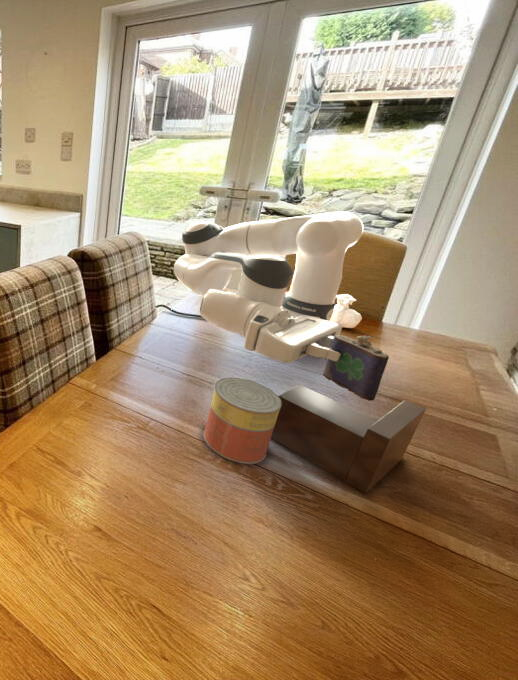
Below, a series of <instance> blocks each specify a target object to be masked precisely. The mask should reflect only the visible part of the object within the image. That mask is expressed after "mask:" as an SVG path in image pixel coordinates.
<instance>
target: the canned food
mask: <svg viewBox="0 0 518 680" xmlns="http://www.w3.org/2000/svg"><path fill="white" fill-rule="evenodd" d="M281 406H282V401H281V399H280V398H279V395H278V394H277V393H276V392H275V391H274V390H273V389H271V388H269V387H268V386H266V385H264V384H261V383H259V382H257V381H253V380H250V379H247V378H241V377H223V378H221V379H219V380H217V381H216V382H215V383H214V390H213V395H212V399H211V402H210V407H209V410H208V411H209V412H208V416H207V419H206V424H205V429H204V431H203V440H204V442H205V443H206V445H207V446H208V447H209V448H210V449H211V450H212V451H213V452H215V454H218V455H219V456H221V457H223V458H224V459H227V460H229V461H232V462H235V463H238V464H239V463H240V464H246V465H252V464H259V463H260V462H262V461H264V460H265V458H266V456H267V452H268V449H269V446H270V445H269V444H270V442H271V440H272V439H271V436H272V432H273V429H274V426H275V423H276V420H277V417H278V413H279V410H280V408H281Z"/></svg>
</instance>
